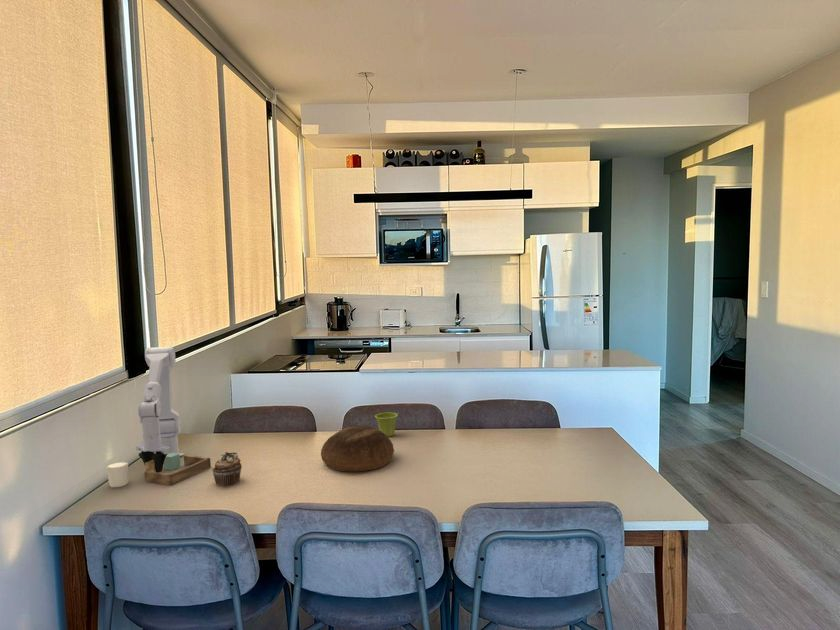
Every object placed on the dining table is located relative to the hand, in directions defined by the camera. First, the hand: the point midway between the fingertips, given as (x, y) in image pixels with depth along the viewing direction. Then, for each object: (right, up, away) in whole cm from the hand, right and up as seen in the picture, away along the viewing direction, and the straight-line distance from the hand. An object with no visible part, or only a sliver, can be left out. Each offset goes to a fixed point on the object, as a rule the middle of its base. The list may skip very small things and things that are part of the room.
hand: (154, 471), depth 216 cm
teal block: (+3, -1, +7) cm, 8 cm away
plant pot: (+82, +5, +39) cm, 91 cm away
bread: (+73, +1, +7) cm, 73 cm away
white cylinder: (-9, -3, -8) cm, 12 cm away
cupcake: (+30, -1, -10) cm, 31 cm away
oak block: (0, -1, 0) cm, 1 cm away
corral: (+9, -1, 0) cm, 9 cm away
